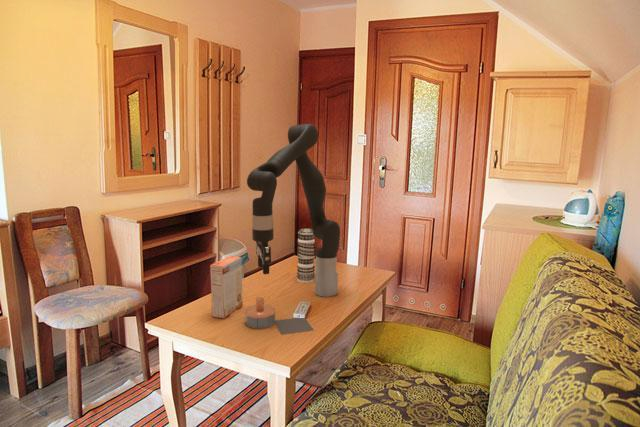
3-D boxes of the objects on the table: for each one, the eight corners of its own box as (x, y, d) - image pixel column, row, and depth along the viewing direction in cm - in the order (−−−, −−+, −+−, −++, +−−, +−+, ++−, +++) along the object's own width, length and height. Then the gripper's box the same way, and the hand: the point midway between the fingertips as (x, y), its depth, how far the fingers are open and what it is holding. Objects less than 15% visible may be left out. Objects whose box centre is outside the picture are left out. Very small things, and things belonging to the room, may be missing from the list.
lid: (271, 305, 166) (271, 292, 165) (278, 316, 156) (278, 302, 155) (242, 308, 163) (242, 295, 162) (247, 320, 152) (247, 306, 151)
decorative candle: (292, 281, 208) (293, 230, 203) (301, 275, 216) (301, 226, 212) (310, 284, 204) (311, 232, 200) (318, 278, 212) (319, 228, 208)
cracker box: (230, 304, 178) (229, 255, 174) (243, 306, 176) (242, 256, 172) (210, 317, 165) (209, 264, 161) (224, 319, 163) (223, 266, 159)
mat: (304, 318, 165) (304, 316, 165) (314, 331, 154) (314, 330, 154) (273, 322, 162) (273, 320, 161) (281, 336, 150) (281, 334, 150)
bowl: (270, 316, 166) (270, 305, 165) (276, 327, 157) (276, 316, 156) (244, 320, 163) (244, 308, 162) (249, 331, 154) (249, 319, 153)
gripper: (277, 230, 150) (278, 275, 153) (268, 222, 163) (269, 263, 166) (256, 232, 147) (257, 277, 150) (248, 223, 160) (249, 265, 163)
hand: (263, 270), depth 158 cm, fingers open, 8 cm apart
